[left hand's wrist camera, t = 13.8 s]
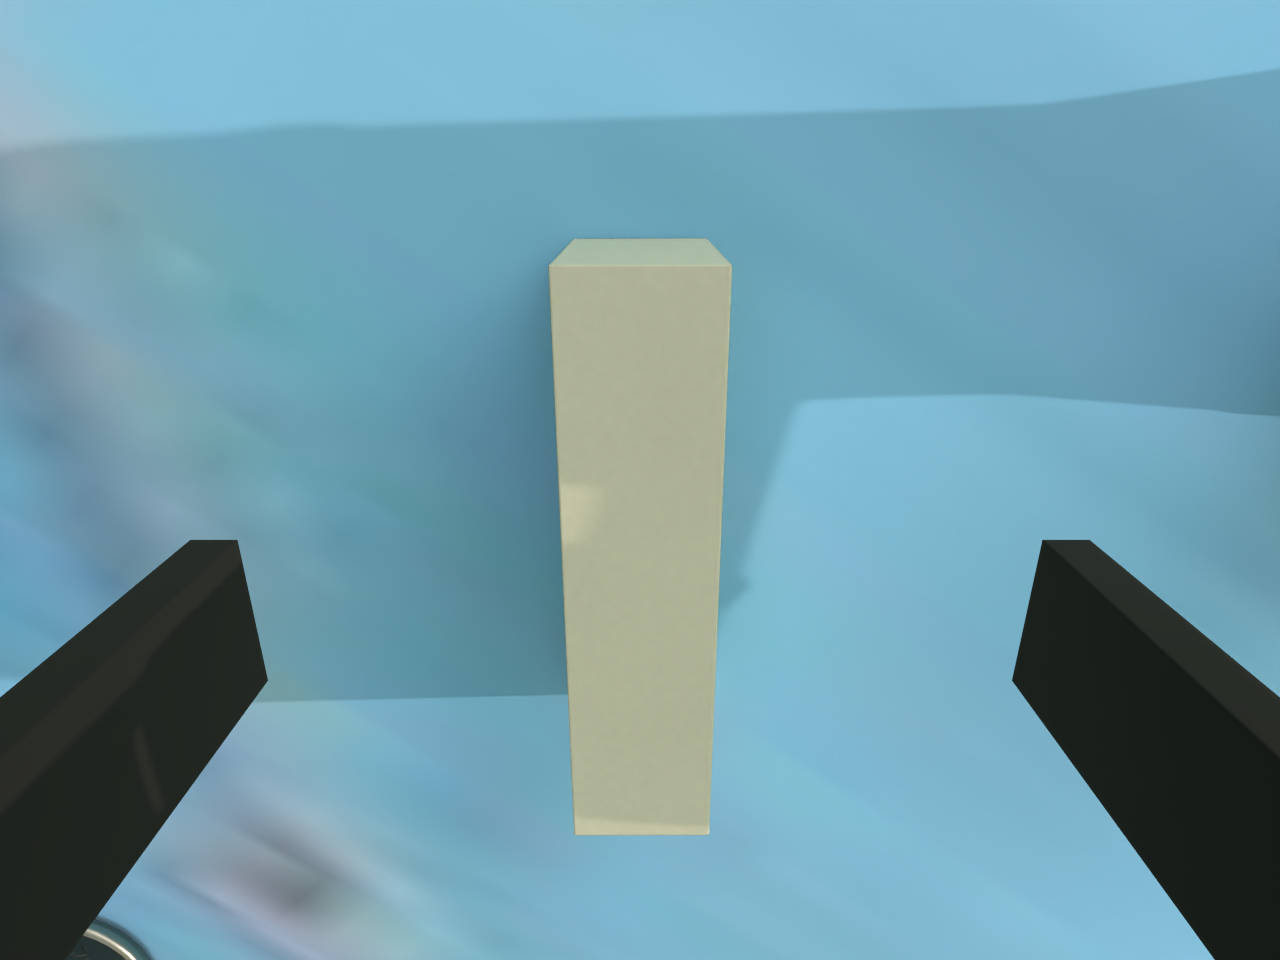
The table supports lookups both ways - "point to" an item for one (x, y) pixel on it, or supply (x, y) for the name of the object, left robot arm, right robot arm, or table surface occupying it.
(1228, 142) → the table surface
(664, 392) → the bar
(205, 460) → the table surface
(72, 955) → the right robot arm
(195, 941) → the table surface
